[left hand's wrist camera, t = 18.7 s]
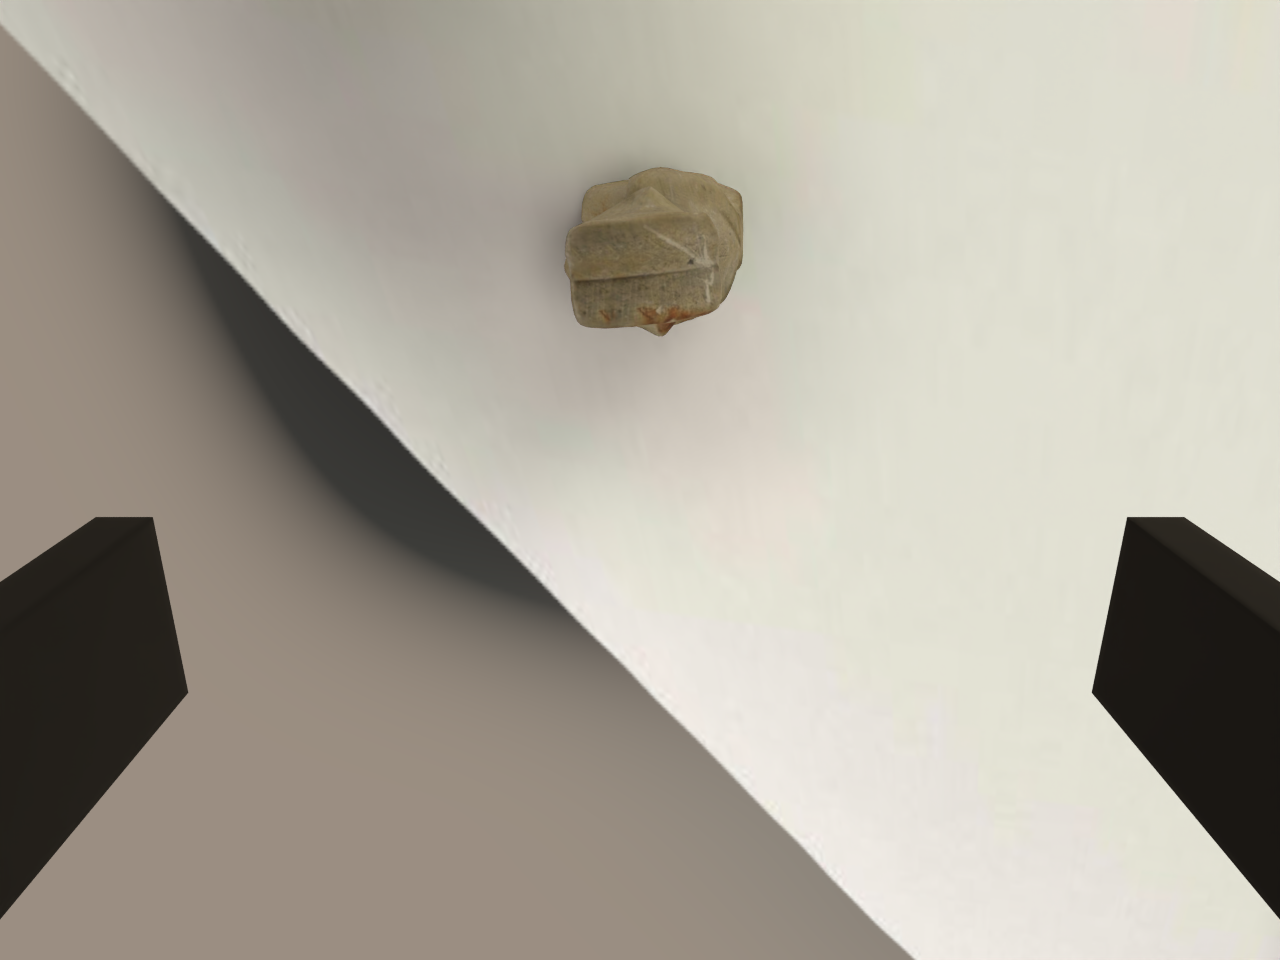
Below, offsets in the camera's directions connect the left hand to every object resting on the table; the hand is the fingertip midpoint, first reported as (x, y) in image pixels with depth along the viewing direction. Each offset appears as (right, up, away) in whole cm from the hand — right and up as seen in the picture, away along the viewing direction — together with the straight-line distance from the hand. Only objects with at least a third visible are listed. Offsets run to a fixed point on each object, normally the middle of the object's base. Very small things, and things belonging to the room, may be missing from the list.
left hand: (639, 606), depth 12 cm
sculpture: (+1, +14, +30) cm, 33 cm away
